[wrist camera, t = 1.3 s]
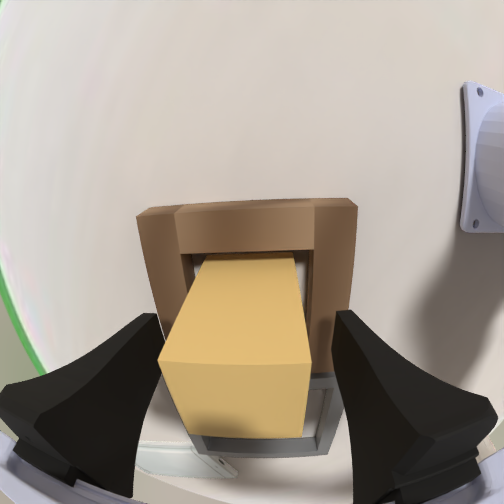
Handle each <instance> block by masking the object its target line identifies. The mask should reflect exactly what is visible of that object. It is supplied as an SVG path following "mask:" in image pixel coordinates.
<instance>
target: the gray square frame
mask: <svg viewBox="0 0 504 504" xmlns="http://www.w3.org/2000/svg"><path fill="white" fill-rule="evenodd" d="M163 379H164V376H163ZM164 381H165V379H164ZM165 384H166V381H165ZM166 386H167V384H166ZM167 388H168V386H167ZM315 389H327V390H326V395H325V400H324V404H323V409H322V413H321V418H320V422H319V426H318V431H317V435H316V437H310V438H294V439H233V438H217V437H210V436H204V435H194V434H189V433H188V431H187V429H186V427H185V429H186V431H187V433H188V435H189V437H190V439H191V441H192V443H193V445H194V447H195V448H196V450H197V452H198V454H202V455H212V456H224V457H241V458H289V457H306V456H318V455H327V454H328V452H329V449H330V447H331V444H332V441H333V438H334V436H335V433H336V430H337V427H338V424H339V421H340V418H341V415H342V412H343V409H344V405H343V401H342V397H341V394H340V390H339V387H338V383H337V379H336V376H335V372H323V373H310V381H309V389H308V390H315ZM168 391H169V388H168ZM169 393H170V391H169ZM170 396H171V393H170ZM171 398H172V396H171ZM172 400H173V398H172ZM173 402H174V400H173ZM174 405H175V403H174ZM175 407H176V405H175ZM176 409H177V407H176ZM177 411H178V409H177ZM178 414H179V412H178ZM179 416H180V414H179ZM180 418H181V416H180ZM181 420H182V418H181ZM182 422H183V420H182ZM183 424H184V422H183ZM184 426H185V425H184Z"/></svg>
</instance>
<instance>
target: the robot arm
mask: <svg viewBox="0 0 504 504" xmlns="http://www.w3.org/2000/svg"><path fill="white" fill-rule="evenodd" d="M477 90H478V92H479V95H478V93H477ZM463 91H464V102H465V119H466V164H465V181H464V193H463V202H462V211H461V218H460V227H461V229H462V230H463V231H465V232H467V233H504V94H503V93H500V92H498V91H496V90H494V89H491V88H489V87H487V86H484V85H482V84H479V83H477V82H474V81H466V82H464V84H463ZM474 220H475V223H474V225H473V222H474ZM164 344H165V340H164V337H163V334H162V331H161V327H160V324H159V320H158V317H157V314H155V313H143V314H141V315H140V316H138V317H137V318H136V319H134V320H133V321H131V322H130V323H129V324H128V325H126V326H125V327H124V328H122V329H121V330H120V331H118V332H117V333H116V334H114V335H113V336H112V337H110V338H109V339H108V340H106V341H105V342H103V343H102V344H100V345H99V346H98V347H96V348H95V349H93V350H92V351H90V352H89V353H87V354H86V355H84V356H82V357H81V358H79V359H77V360H75V361H73V362H72V363H70V364H68V365H66V366H63V367H61V368H59V369H57V370H55V371H52V372H50V373H48V374H45V375H42V376H39V377H36V378H33V379H30V380H27V381H22V382H18V383H13V384H8V385H6V386H5V387H4V389H3V390H2V391H1V393H0V418H1V419H2V420H3V421H4V422H5V423H6V425H7V426H8V427H9V428H10V429H11V430H12V431H13V432H14V433H15V434H16V435H17V436H18V437H19V440H18V441H17V442H16V441H14V440H13V439H12V438H10V437H9V436H8V435H6V434H5V433H3V432H2V431H1V430H0V490H1V491H2V492H3V493H4V494H6V495H7V496H8V497H9V498H10V499H11V500H12V501H13V502H14V503H16V504H147V503H143V502H140V501H136V500H133V499H130V498H132V497H133V481H134V470H135V462H136V454H137V449H138V444H139V438H140V434H141V429H142V425H143V421H144V418H145V415H146V412H147V409H148V406H149V404H150V401H151V399H152V396H153V394H154V391H155V389H156V386H157V384H158V381H159V379H160V376H161V374H162V371H161V368H160V366H159V363H158V358H159V356H160V353H161V351H162V349H163V347H164ZM331 353H332V360H333V367H334V372H335V376H336V379H337V383H338V387H339V390H340V394H341V397H342V401H343V405H344V408H345V412H346V416H347V421H348V427H349V435H350V443H351V454H352V467H353V504H504V448H502V449H500V450H499V451H497V452H495V453H493V454H492V455H490V456H488V457H487V458H485V459H483V460H482V461H481V462H479V463H477V460H476V457H477V456H478V455H479V451H478V449H477V446H478V445H479V444H480V443H481V441H482V440H483V439H484V438H485V437H486V436H487V435H488V434H489V433H490V432H491V430H492V429H493V428H494V427H495V425H496V423H497V420H498V416H497V414H496V412H495V410H494V408H493V406H492V405H491V403H490V401H489V399H488V398H487V397H484V396H481V395H477V394H474V393H471V392H468V391H465V390H462V389H460V388H457V387H455V386H452V385H450V384H448V383H446V382H444V381H441V380H439V379H438V378H436V377H434V376H432V375H430V374H428V373H427V372H425V371H423V370H422V369H420V368H418V367H417V366H415V365H414V364H412V363H411V362H409V361H408V360H406V359H405V358H404V357H402V356H401V355H400V354H398V353H397V352H396V351H395V350H394V349H392V348H391V347H390V346H389V345H388V344H386V343H385V342H384V341H383V340H382V339H381V338H380V337H378V336H377V335H376V334H375V333H374V332H373V331H372V330H371V329H370V328H369V327H368V326H367V325H366V324H365V323H364V322H363V321H362V320H361V319H360V318H359V317H358V316H357V315H356V314H355V313H354V312H353V311H352V310H341V311H336V316H335V324H334V331H333V339H332V345H331Z"/></svg>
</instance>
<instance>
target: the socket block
mask: <svg viewBox="0 0 504 504" xmlns="http://www.w3.org/2000/svg"><path fill="white" fill-rule="evenodd" d="M357 213H358V206H357V205H356V204H354V203H353V202H352V201H351V200H349V199H348V198H309V199H272V200H249V201H230V202H213V203H199V204H186V205H173V206H162V207H151V208H148V209H147V210H145V211H144V212H142V213H141V214H139V215H138V216H136V219H137V225H138V230H139V235H140V241H141V245H142V250H143V255H144V260H145V264H146V268H147V273H148V277H149V281H150V285H151V289H152V293H153V297H154V301H155V305H156V308H157V312H158V316H159V319H160V323H161V326H162V329H163V333H164V336H165V339H166V340H167V338H168V336H169V333H170V331H171V329H172V327H173V325H174V323H175V320H176V318H177V316H178V314H179V312H180V310H181V308H182V305H183V303H184V301H185V299H186V297H187V295H188V293H189V291H190V289H191V287H192V284H193V282H194V280H195V274H194V268H193V261H192V255H191V253H219V252H248V251H278V250H308V249H309V265H308V294H307V315H306V330H307V336H308V342H309V349H310V355H311V362H312V364H311V373H323V372H334V367H333V360H332V353H331V345H332V339H333V331H334V324H335V316H336V311H341V310H348V308H349V300H350V293H351V284H352V276H353V266H354V256H355V244H356V230H357Z"/></svg>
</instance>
